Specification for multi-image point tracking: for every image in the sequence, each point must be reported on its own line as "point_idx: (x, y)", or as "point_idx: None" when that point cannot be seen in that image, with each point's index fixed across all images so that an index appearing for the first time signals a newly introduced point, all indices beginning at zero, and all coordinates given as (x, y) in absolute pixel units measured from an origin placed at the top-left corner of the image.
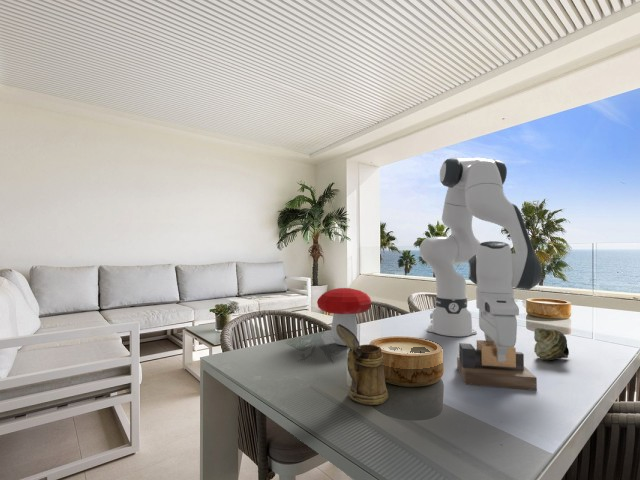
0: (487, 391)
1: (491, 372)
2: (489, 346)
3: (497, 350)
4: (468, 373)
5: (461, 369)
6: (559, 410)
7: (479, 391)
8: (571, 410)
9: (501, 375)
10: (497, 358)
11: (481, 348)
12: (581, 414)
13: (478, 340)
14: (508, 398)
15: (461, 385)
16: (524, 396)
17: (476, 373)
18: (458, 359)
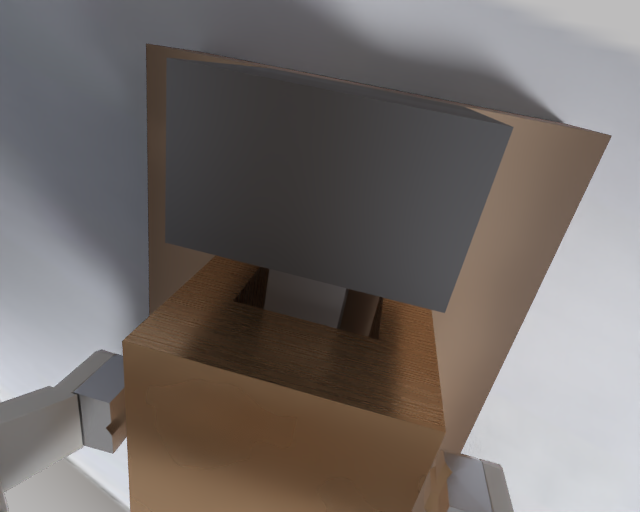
0: (117, 155)
1: (185, 262)
2: (130, 417)
3: (9, 412)
4: (149, 68)
5: (357, 84)
6: (10, 355)
7: (104, 102)
8: (26, 392)
9: (151, 299)
10: (98, 360)
11: (154, 320)
12: (5, 400)
13: (416, 445)
14: (57, 224)
15: (176, 5)
16: (103, 310)
17: (147, 137)
18: (527, 120)
